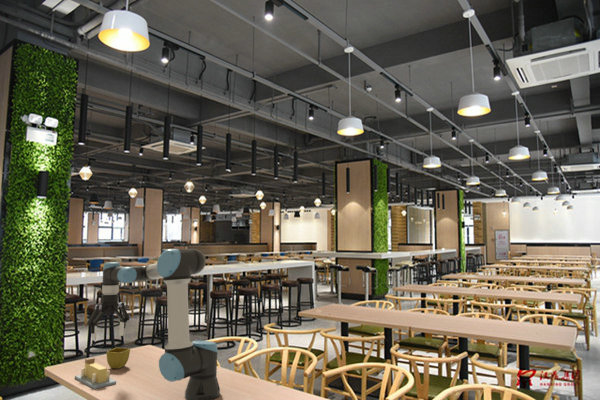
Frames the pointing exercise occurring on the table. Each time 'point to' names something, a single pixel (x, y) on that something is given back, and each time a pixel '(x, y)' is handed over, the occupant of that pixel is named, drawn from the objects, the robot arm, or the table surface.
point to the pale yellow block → (95, 370)
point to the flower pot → (118, 357)
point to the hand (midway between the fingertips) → (108, 337)
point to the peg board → (96, 385)
